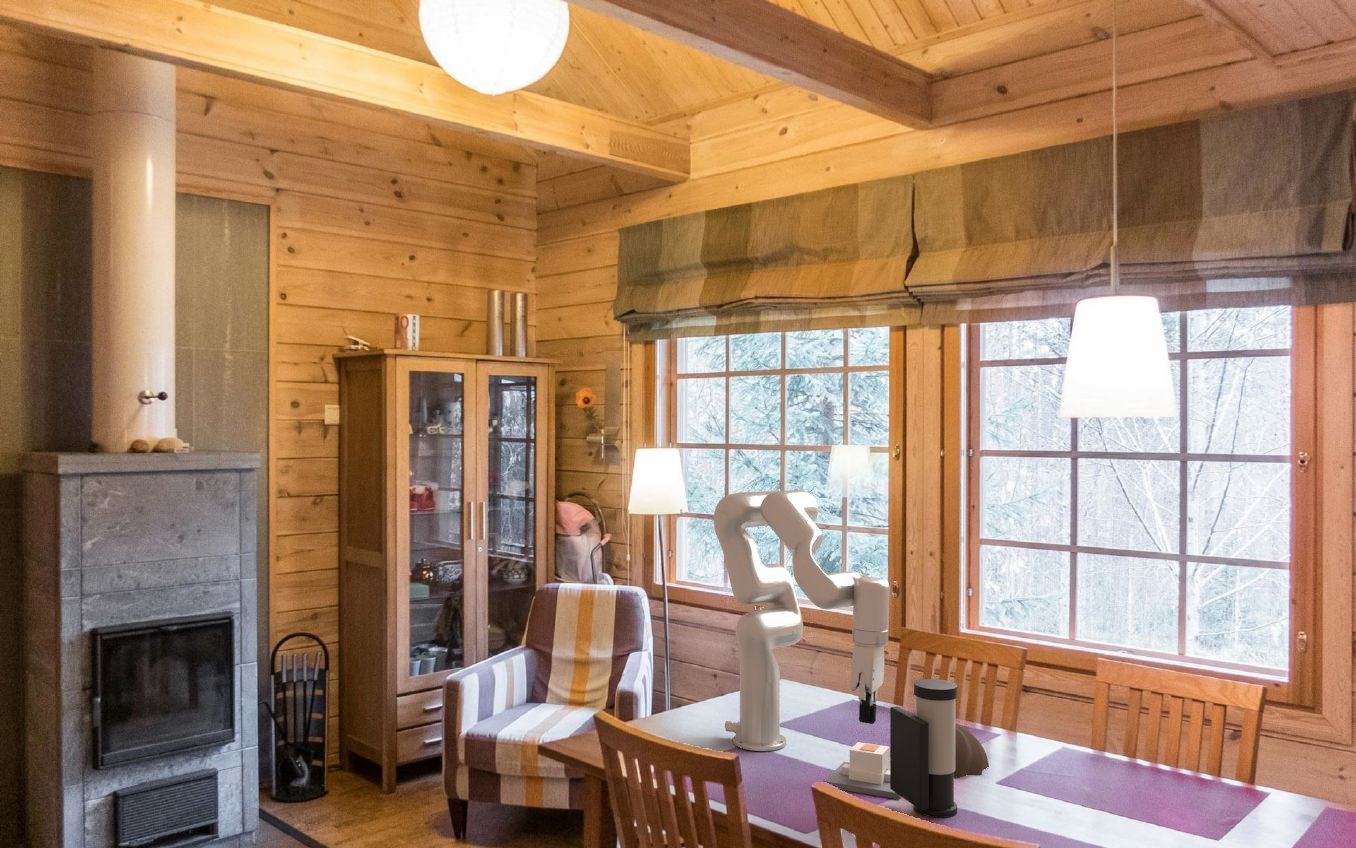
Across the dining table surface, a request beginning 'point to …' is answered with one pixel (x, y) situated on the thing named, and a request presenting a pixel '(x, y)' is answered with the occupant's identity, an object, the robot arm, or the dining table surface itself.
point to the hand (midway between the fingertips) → (867, 721)
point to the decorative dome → (968, 754)
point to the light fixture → (925, 749)
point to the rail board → (860, 783)
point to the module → (869, 762)
